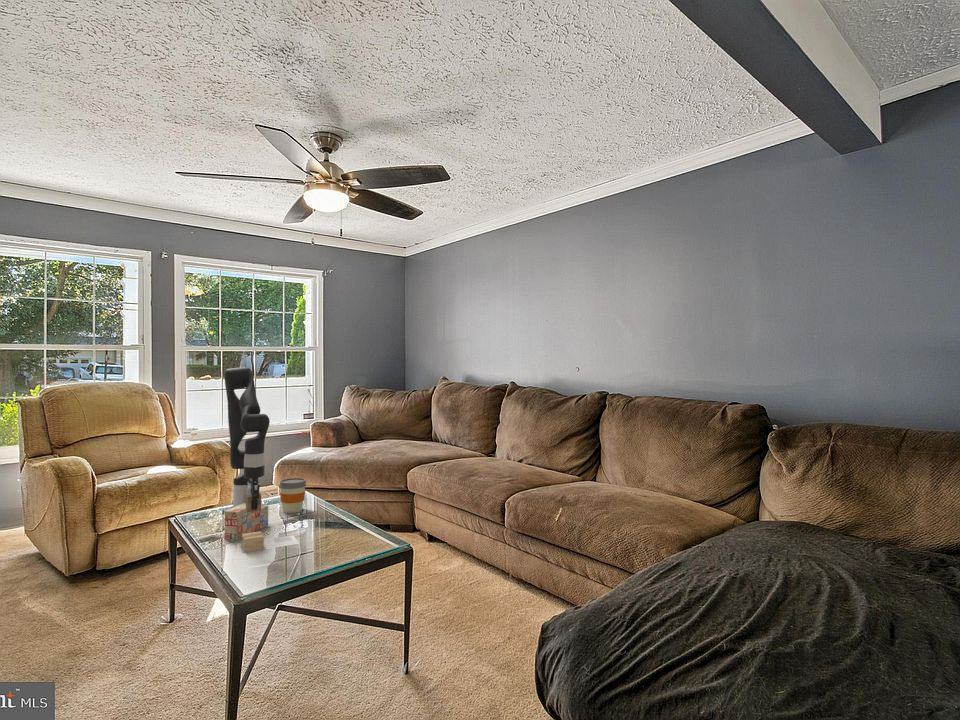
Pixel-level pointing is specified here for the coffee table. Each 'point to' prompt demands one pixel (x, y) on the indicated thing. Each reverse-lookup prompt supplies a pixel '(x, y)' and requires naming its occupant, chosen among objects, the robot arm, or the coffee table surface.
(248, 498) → the walnut block
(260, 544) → the oak block
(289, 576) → the coffee table surface
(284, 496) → the reusable coffee cup
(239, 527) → the stack of blocks
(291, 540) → the white board
